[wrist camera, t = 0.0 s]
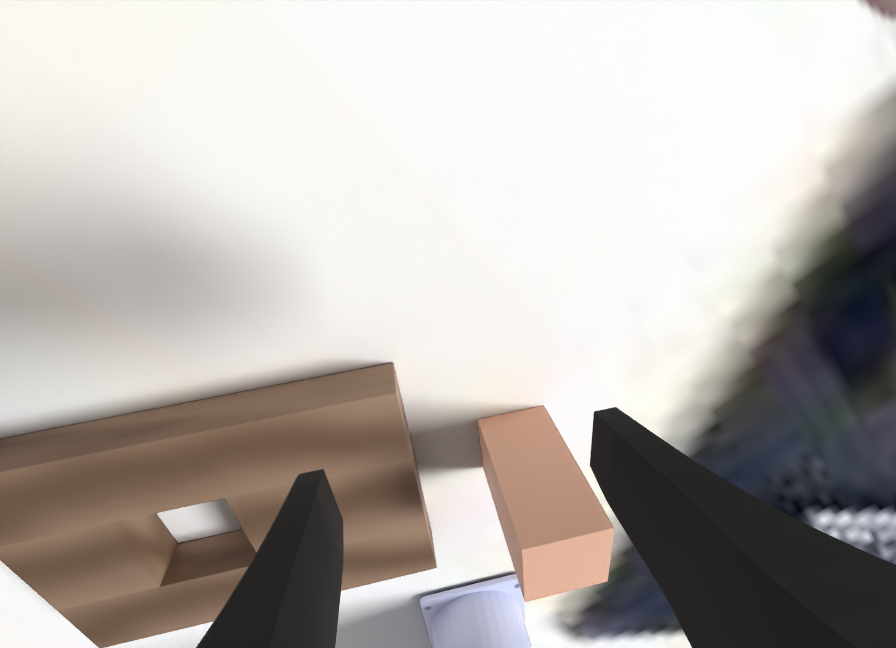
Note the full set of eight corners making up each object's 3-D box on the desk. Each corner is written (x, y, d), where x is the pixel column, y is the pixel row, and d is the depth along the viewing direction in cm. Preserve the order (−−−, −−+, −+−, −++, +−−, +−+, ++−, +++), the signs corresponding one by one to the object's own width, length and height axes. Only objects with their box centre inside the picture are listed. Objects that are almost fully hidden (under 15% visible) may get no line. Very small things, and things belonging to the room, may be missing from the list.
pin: (544, 453, 26) (607, 581, 19) (483, 467, 26) (524, 602, 19) (543, 405, 24) (614, 527, 17) (477, 419, 24) (521, 549, 17)
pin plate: (431, 531, 28) (436, 567, 26) (122, 603, 26) (99, 648, 24) (393, 362, 21) (395, 392, 19) (-30, 444, 19) (-81, 488, 17)
